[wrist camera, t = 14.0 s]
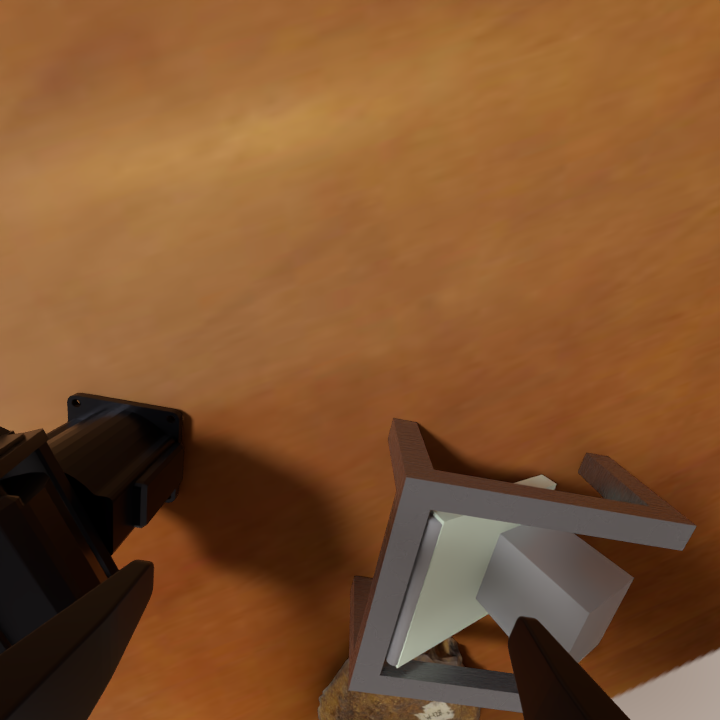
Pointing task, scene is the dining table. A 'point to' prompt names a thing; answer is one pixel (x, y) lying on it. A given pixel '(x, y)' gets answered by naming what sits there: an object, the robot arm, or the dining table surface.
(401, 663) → the trapdoor
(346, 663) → the decorative rock
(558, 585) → the gray cube
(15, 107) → the dining table surface
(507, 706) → the frame
